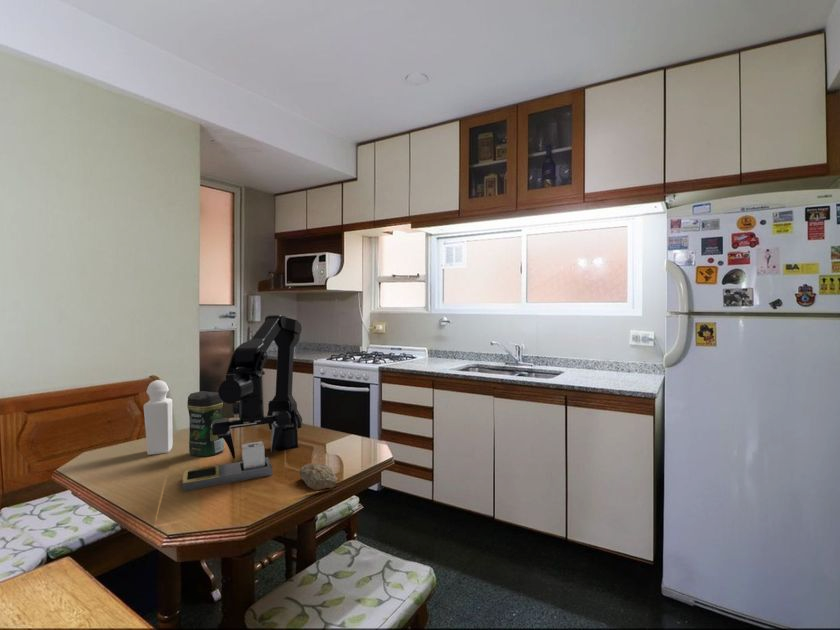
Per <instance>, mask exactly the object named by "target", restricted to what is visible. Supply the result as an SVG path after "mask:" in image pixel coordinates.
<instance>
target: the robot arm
mask: <svg viewBox="0 0 840 630" xmlns="http://www.w3.org/2000/svg"><path fill="white" fill-rule="evenodd" d="M302 329H303V328H302V323H300V322H299V321H298V319H294V318H289V317H287V316H285V315H282V314H271V315H270V314H268V315H266V316H265V318H264V322H263V323H262V324H261V326H260V327H259V328H258V329H257V331H256V332H255V334H253V336H252V337H251V339H250V340H247V341H245V342H243V343H241V344H240V345H238V346H237V347H236V348H235V349H234V350H233V353H232V356H231V359H230V362H229V364H228V368H227V370H226V375H225V379H224V381H222V382H221V383H220V384H219V387H218V388H217V391H218V394H219V397H220V398H221V400H222V401H223V403H225V404H229V405H230V404H231V405H232V415H233V416H238V419H236V420H230V419H229V417H222V419H214V420H213V422H212V435H218V438H223V439H224V443H226V445H227V447H228V449H229V451H230V454H231V456H232V459H233V460H236V452H235V446H234V441H233V436H232V431H231V429H239V428H245V427H247V428H248V427H253V426H260V425H268V427H269V430H271V440H270V452H271V453H274V452H275V450H276V451H277V452H280V451H287V450H293V449H298V448H300V445H299V440H298V439H299V437H298V429H301V428H302V426H303V417H302V415H301V413H300V412H299V410H298V404H297V401H296V400H295V398H294V396H293V380H294V379H293V377H294V376H293V375H294V349H295V347H296V346H297V344H298V343H299V341H300V339H301V337H300V336H301V333H302ZM273 341H274V343H275V345H276V347H277V354H276V356H277V357H276V373H275V374H276V379H275V395H274V396H273V399H271V400H269V401H268V408H267V415H266V416H265V415H264V390H263V376H264V375H265V374H266V373H265V371H264V370H263V369H264V367H265V364H266V362H267V360H268V357H269V355H268V353H267V351H268V349H269V347H270V346H271V345H272V344H273Z"/></svg>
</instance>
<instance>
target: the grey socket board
mask: <svg viewBox="0 0 840 630" xmlns="http://www.w3.org/2000/svg"><path fill="white" fill-rule="evenodd" d="M182 476H183V477H182V482H181V483H182V484H181V485H182V492H189V491H194V490H201V489H206V488H210V487H215V486H221V485H226V484H232V483H238V482H243V481H248V480H253V479H260V478H264V477H268V476H273V466H272V464H271V461H270V459H269V457H268V456H267V457H266V456H265V467H261V468H256V469H250V470H244V471H243V461H237V462H236V461H235V462H231V463H224V464H214V465H209V466H202V467H197V468H191V469H185V470H184V471H183V475H182Z"/></svg>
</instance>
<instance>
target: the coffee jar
mask: <svg viewBox="0 0 840 630" xmlns="http://www.w3.org/2000/svg"><path fill="white" fill-rule="evenodd" d="M223 404H224V402H223V401H222V400H221V398H220V397H219V394H218V392H215V391H203V390H201V391H196V392H192V393H189V395H188V397H187V411H188V416H189V437H188V438H189V439H188V440H189V441H188V452H189V454H190V455H192V456H196V457H203V458H204V457H205V458H206V457H211V456H216V455H219V454H221V453H222V452H223V451H225V440H224V439H223V438H218V435H212V422H213V420H214V419H222V418H223V416H222V412H223Z"/></svg>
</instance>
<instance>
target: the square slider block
mask: <svg viewBox="0 0 840 630" xmlns="http://www.w3.org/2000/svg"><path fill="white" fill-rule="evenodd" d="M265 453H266V451H265V444H264V442H263V441H262V440H261V441H260V440H259V441H254V442H247V443H242V444H241V454H242V455H241V457H242V461H243V471H244V470H250V469H256V468H261V467H265V457H266V456H265ZM242 461H241V462H242Z"/></svg>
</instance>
